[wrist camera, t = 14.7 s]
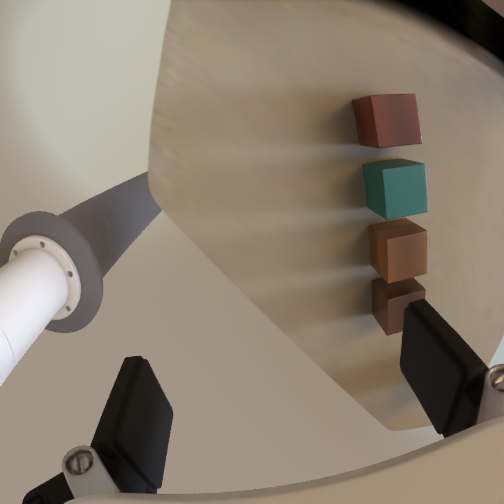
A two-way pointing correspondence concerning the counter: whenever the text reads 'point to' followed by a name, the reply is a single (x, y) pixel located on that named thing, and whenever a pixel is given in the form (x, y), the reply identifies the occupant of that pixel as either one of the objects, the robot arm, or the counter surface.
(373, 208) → the teal block
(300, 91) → the counter surface
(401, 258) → the oak block
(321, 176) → the counter surface
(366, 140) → the dark cherry block
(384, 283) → the walnut block
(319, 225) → the counter surface
